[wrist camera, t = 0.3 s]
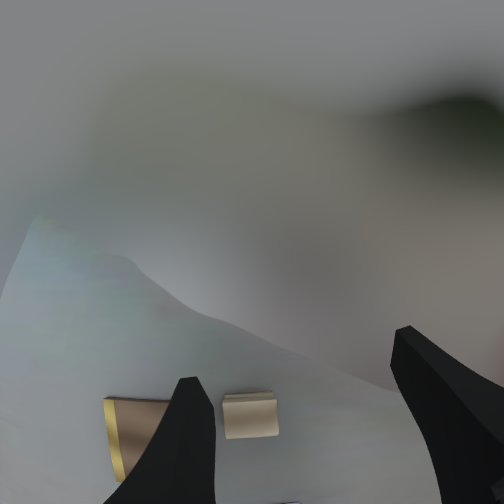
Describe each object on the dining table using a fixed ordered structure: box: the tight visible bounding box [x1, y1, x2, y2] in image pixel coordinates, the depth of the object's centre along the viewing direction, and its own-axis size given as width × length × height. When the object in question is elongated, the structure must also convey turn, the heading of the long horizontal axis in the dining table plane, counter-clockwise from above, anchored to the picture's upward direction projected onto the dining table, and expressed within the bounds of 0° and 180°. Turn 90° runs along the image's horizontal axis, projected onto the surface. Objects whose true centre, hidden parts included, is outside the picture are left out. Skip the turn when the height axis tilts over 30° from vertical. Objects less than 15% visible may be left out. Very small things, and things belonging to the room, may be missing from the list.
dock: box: [103, 397, 170, 482], centre depth 33 cm, size 13×13×2 cm
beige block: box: [223, 391, 279, 439], centre depth 33 cm, size 5×6×6 cm
